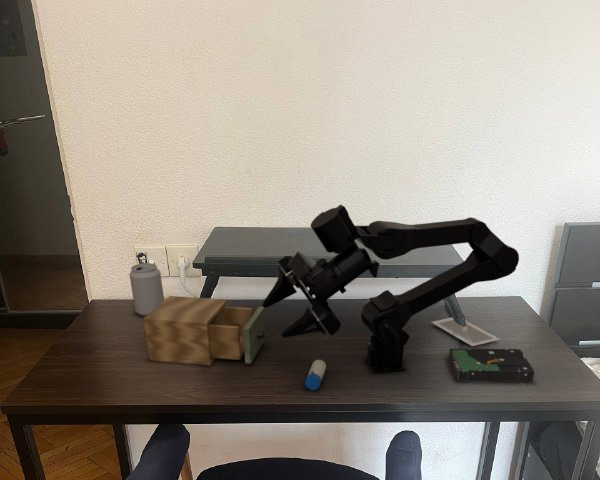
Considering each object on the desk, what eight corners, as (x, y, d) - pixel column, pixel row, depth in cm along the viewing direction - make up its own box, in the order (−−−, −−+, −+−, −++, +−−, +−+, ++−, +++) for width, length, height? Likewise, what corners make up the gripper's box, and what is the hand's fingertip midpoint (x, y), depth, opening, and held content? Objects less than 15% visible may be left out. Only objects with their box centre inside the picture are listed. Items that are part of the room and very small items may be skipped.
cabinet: (230, 339, 133) (226, 299, 128) (210, 365, 122) (206, 323, 117) (174, 334, 136) (169, 295, 131) (150, 360, 124) (143, 318, 119)
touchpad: (456, 320, 141) (457, 312, 140) (499, 343, 129) (501, 334, 128) (430, 326, 138) (431, 317, 137) (471, 350, 126) (473, 341, 125)
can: (142, 306, 152) (135, 261, 146) (169, 307, 151) (163, 262, 145) (131, 316, 145) (123, 270, 139) (159, 318, 144) (153, 271, 138)
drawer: (271, 339, 130) (269, 307, 126) (256, 364, 120) (254, 329, 116) (213, 335, 133) (210, 303, 129) (193, 359, 122) (189, 324, 118)
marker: (314, 371, 119) (311, 358, 118) (328, 370, 118) (324, 356, 117) (306, 390, 112) (303, 376, 111) (321, 389, 112) (317, 374, 110)
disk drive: (517, 360, 122) (447, 359, 123) (520, 348, 121) (448, 347, 121) (532, 384, 113) (456, 382, 114) (535, 371, 112) (458, 370, 112)
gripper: (300, 216, 107) (233, 267, 109) (348, 274, 96) (272, 329, 98) (323, 254, 116) (261, 300, 118) (369, 310, 105) (299, 361, 107)
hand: (272, 320), depth 110 cm, fingers open, 9 cm apart
